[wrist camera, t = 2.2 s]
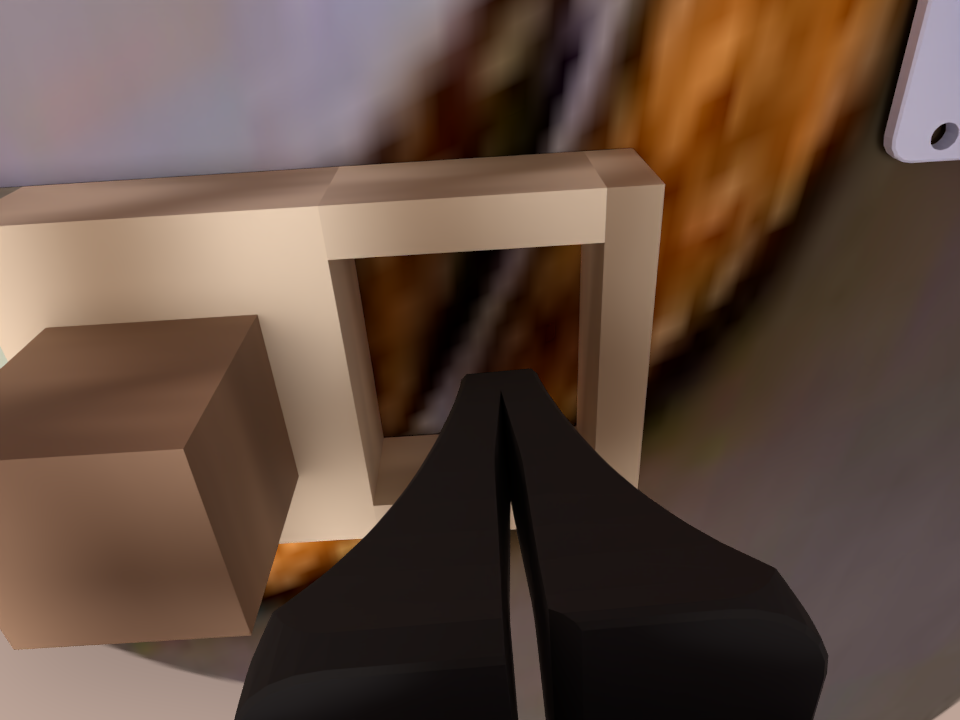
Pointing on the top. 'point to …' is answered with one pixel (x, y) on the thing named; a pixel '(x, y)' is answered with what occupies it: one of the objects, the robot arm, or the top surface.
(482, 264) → the top surface
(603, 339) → the frame
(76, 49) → the top surface
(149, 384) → the walnut block
